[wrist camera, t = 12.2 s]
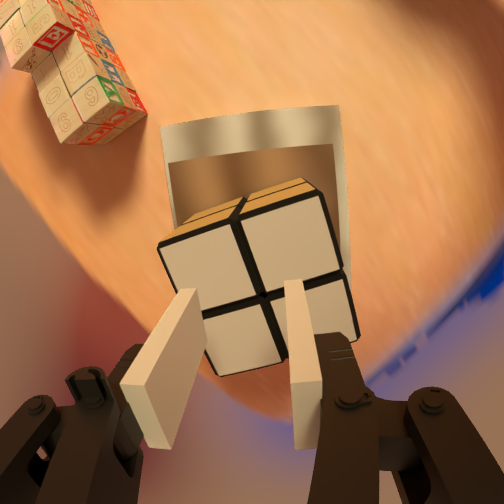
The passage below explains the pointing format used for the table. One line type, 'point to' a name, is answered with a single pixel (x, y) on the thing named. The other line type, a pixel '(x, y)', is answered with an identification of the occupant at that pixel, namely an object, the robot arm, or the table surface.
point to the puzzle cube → (260, 273)
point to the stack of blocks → (71, 68)
